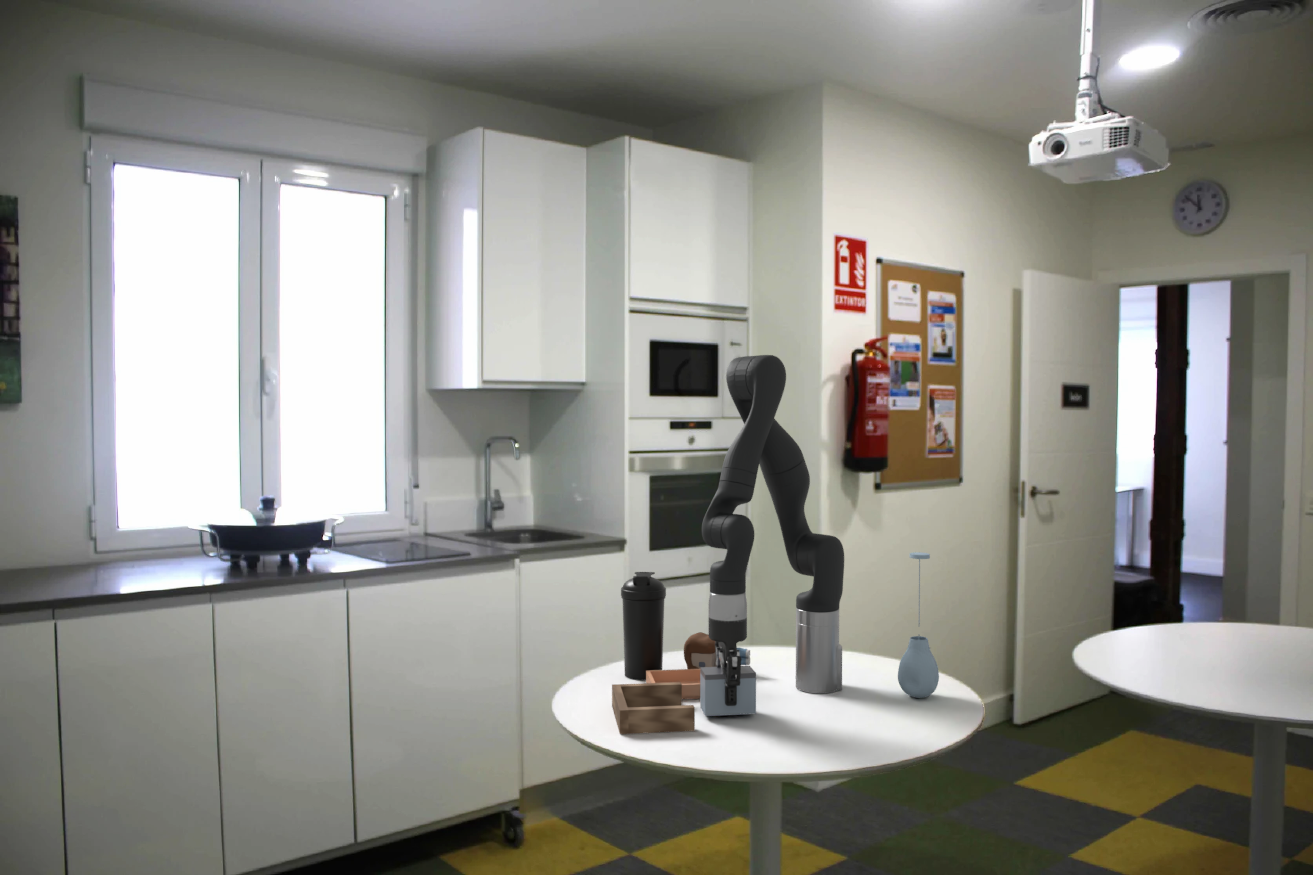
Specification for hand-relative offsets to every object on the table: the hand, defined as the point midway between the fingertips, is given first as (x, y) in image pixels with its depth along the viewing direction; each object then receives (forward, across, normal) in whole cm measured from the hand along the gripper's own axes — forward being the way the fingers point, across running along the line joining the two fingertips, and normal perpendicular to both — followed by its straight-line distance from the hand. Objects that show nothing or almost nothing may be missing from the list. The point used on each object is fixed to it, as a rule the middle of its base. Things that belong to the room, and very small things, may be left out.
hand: (727, 700), depth 191 cm
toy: (+3, +31, -4) cm, 31 cm away
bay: (+3, 0, +15) cm, 15 cm away
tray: (+3, +17, +5) cm, 18 cm away
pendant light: (+3, +7, -42) cm, 43 cm away
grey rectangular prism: (+2, 0, 0) cm, 2 cm away
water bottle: (+3, +31, +13) cm, 34 cm away
